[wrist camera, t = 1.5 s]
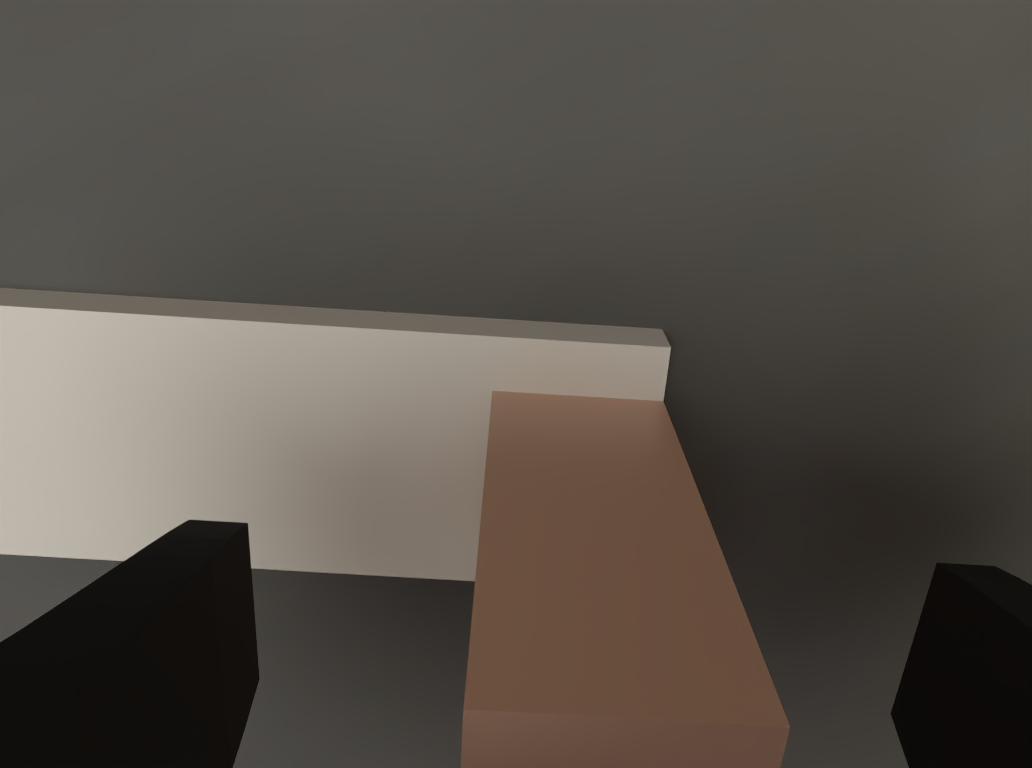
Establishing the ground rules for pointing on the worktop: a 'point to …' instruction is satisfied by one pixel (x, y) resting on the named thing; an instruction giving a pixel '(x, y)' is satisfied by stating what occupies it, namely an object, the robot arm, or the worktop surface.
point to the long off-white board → (411, 497)
